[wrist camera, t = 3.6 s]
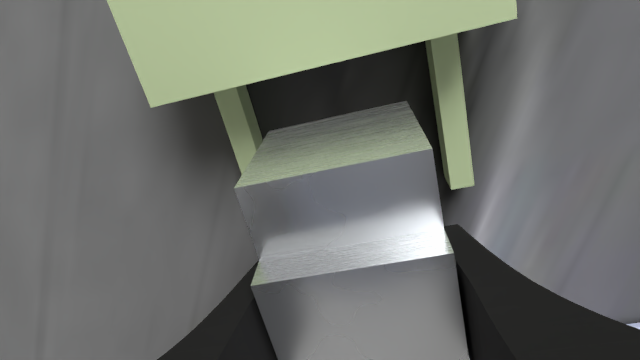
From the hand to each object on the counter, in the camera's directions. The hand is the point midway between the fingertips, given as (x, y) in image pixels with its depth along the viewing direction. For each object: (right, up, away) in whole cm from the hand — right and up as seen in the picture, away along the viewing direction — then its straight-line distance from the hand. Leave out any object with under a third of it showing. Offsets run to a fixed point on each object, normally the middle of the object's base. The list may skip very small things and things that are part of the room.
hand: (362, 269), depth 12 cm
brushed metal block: (0, +2, +2) cm, 3 cm away
